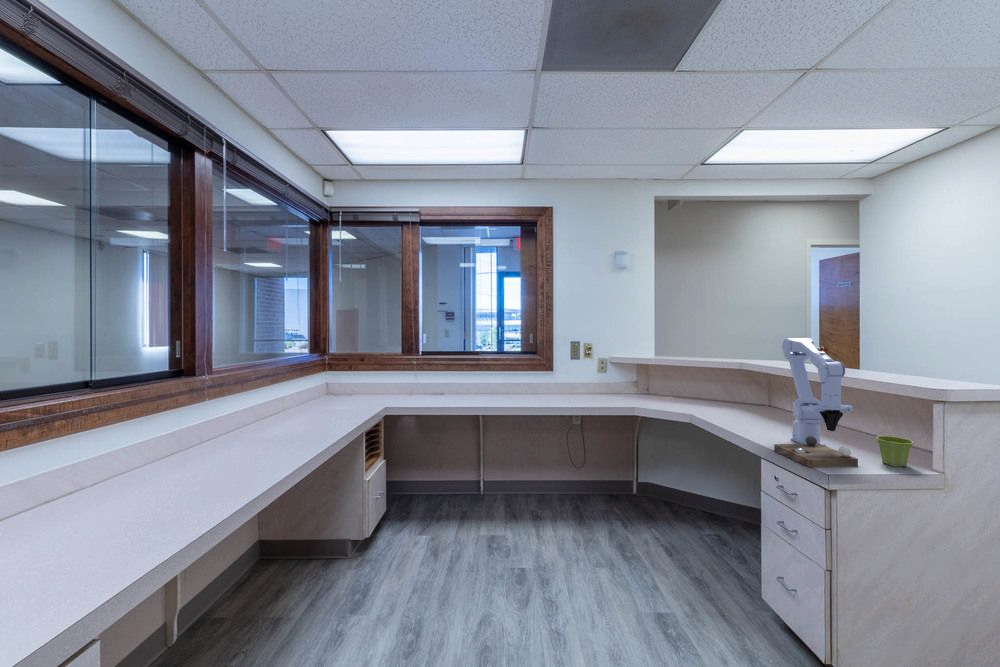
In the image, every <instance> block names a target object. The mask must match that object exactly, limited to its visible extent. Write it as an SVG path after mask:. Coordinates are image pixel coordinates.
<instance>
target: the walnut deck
mask: <svg viewBox="0 0 1000 667" xmlns="http://www.w3.org/2000/svg"><path fill="white" fill-rule="evenodd" d="M773 446H774V447H773V448H774V449H773V451H774V450H775V451H774V452H776V451H777V453H778V452H779V454H781V453H782V454H781V455H783V454H784V455H783V456H785V455H786V456H785V457H787V456H788V457H787V458H789V457H790V458H789V459H791V460H793V461H795V462H797V463H799V464H802V465H804V466H806V467H808V468H823V467H827V468H829V467H832V468H833V467H857V466H859V459H858V458H857V457H854V456H851V455H850V456H848V457H844V456H841V455H840V454H839V452H838V449H837V450H836V449H834V448H832V447H828V446H827V445H821V444H819V443H816V444H815V445H813V446H811V445H808V444H807V443H802V444H801V443H775V444H773ZM797 448H802V449H803V450H805V452H806V453H796V452H794V451H795V449H797Z"/></svg>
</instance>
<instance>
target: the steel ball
mask: <svg viewBox="0 0 1000 667" xmlns="http://www.w3.org/2000/svg"><path fill="white" fill-rule="evenodd" d="M794 452H796V453H806V452H805V450H803V449H802V448H797V449H795V451H794Z"/></svg>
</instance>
